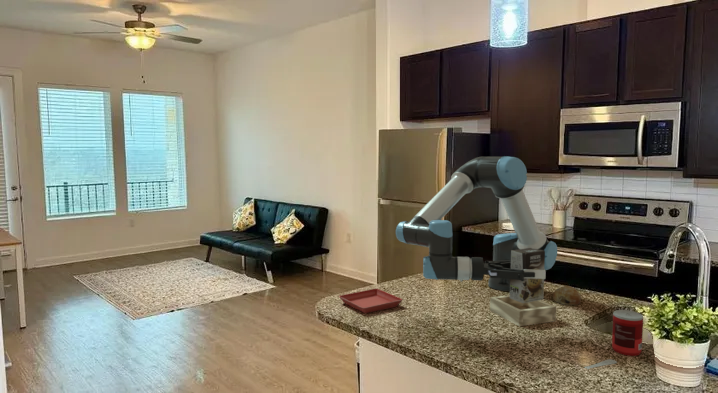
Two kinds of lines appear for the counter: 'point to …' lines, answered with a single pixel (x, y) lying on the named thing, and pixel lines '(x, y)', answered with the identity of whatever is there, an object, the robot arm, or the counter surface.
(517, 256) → the coffee box
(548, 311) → the wooden tray
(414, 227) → the robot arm
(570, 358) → the counter surface
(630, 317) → the canned food
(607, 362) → the butter knife
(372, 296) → the plant saucer
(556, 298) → the bread roll
